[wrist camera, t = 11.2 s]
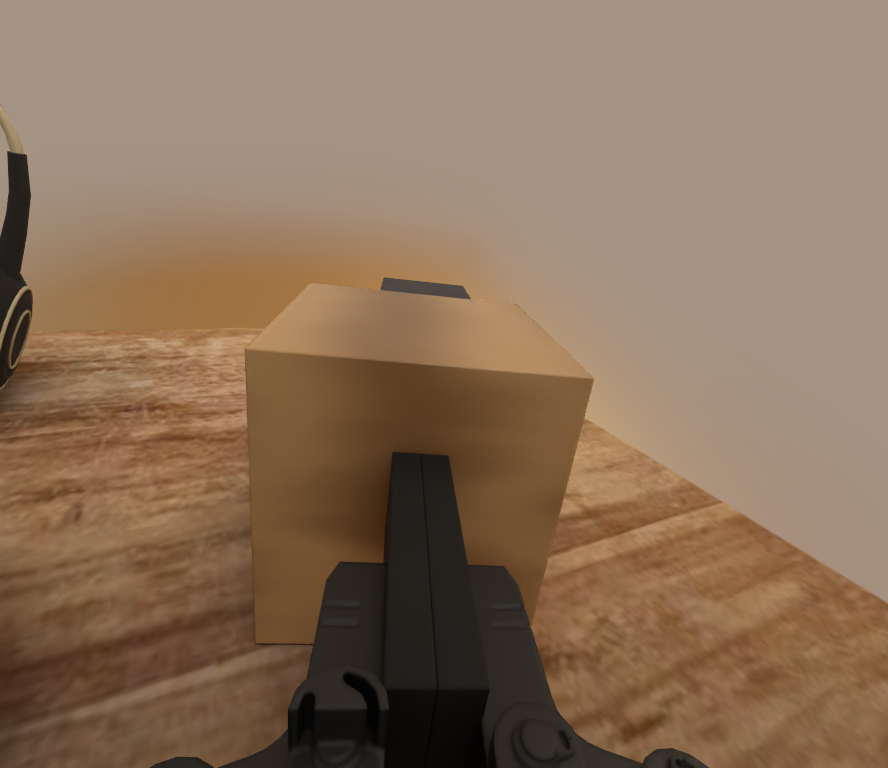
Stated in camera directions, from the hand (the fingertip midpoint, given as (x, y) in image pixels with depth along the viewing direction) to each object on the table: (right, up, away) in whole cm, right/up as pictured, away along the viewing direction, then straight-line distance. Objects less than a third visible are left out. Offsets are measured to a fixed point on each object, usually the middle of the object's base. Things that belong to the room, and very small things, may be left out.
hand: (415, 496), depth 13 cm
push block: (-1, -4, +7) cm, 8 cm away
